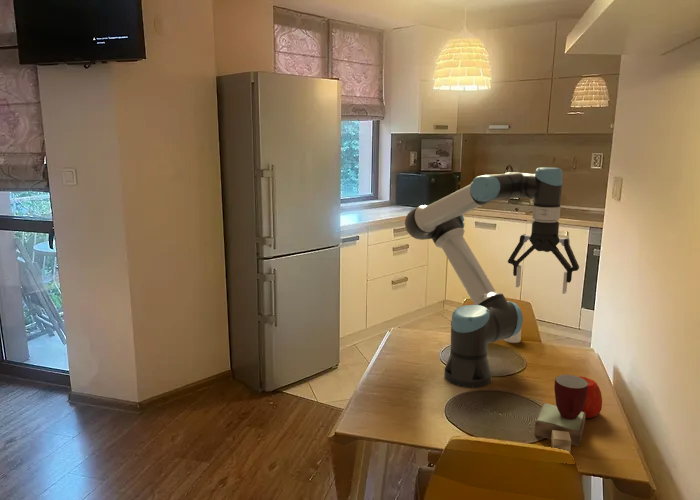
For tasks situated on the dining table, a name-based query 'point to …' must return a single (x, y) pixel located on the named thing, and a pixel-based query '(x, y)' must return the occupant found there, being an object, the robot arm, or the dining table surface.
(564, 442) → the oak block
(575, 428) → the podium
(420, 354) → the dining table surface
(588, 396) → the apple
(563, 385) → the mug
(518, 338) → the candle
